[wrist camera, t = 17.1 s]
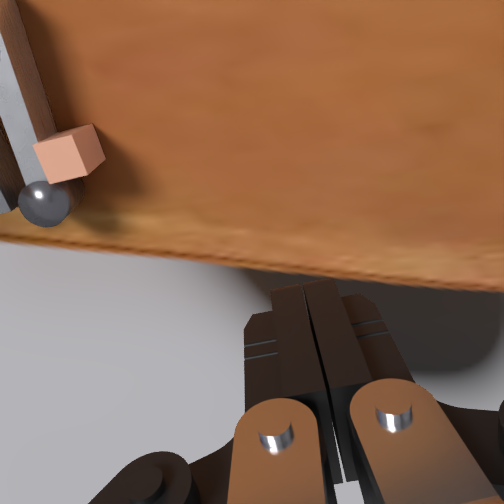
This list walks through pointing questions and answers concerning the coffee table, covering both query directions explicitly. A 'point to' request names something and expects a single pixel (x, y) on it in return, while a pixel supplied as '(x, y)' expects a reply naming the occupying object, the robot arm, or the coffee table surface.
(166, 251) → the coffee table surface
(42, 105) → the arm
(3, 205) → the tongs jaw
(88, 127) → the salmon pink block
